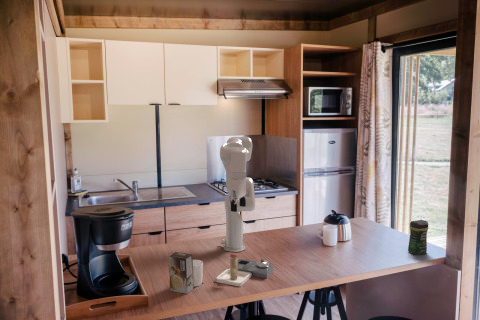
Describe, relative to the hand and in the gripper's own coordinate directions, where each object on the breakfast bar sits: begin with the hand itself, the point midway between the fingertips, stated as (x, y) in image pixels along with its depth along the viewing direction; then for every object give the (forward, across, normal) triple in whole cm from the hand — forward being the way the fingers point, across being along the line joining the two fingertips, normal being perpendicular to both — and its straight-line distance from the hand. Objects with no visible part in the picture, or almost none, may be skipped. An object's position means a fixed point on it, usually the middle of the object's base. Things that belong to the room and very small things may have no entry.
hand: (238, 208), depth 200 cm
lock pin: (+30, +14, +5) cm, 33 cm away
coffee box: (+31, +33, -12) cm, 47 cm away
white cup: (+31, +25, -10) cm, 41 cm away
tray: (+31, +14, +5) cm, 34 cm away
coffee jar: (+32, -64, +81) cm, 108 cm away
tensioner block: (+31, +3, +10) cm, 33 cm away
